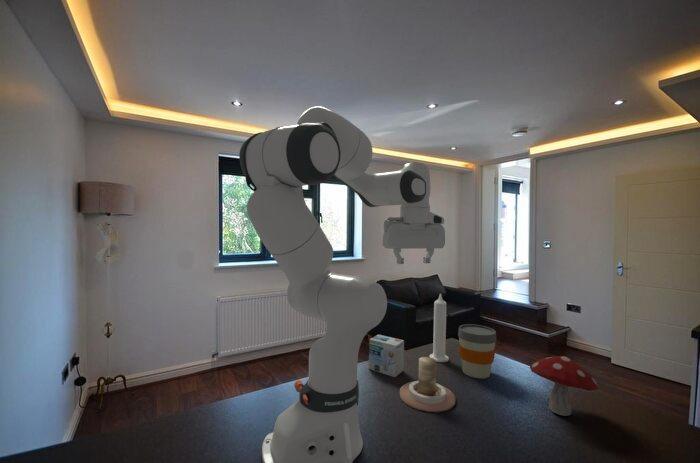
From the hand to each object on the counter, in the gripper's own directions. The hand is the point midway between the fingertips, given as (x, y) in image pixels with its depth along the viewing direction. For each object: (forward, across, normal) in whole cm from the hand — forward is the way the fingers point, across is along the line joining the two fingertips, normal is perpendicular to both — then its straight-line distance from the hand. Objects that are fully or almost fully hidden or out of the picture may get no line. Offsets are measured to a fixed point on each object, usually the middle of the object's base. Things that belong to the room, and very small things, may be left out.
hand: (413, 263), depth 97 cm
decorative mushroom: (+39, +34, -23) cm, 57 cm away
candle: (+39, +24, +18) cm, 49 cm away
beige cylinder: (+38, +3, -4) cm, 39 cm away
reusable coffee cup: (+39, +29, +4) cm, 49 cm away
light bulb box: (+39, 0, +16) cm, 43 cm away
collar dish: (+39, +3, -4) cm, 39 cm away
